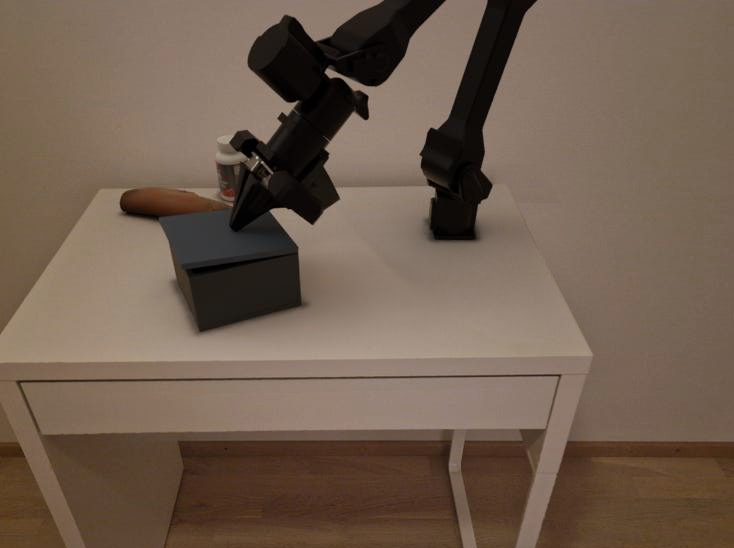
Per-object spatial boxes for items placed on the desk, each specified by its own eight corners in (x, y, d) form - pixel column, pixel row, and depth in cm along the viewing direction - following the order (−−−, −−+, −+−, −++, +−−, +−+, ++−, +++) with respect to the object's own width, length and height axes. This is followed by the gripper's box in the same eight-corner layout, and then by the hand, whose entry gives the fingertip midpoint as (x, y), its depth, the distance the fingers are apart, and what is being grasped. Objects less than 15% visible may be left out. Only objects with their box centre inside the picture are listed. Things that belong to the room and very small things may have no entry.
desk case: (199, 332, 73) (188, 278, 68) (177, 281, 82) (166, 231, 77) (301, 305, 77) (298, 253, 72) (269, 260, 86) (265, 210, 81)
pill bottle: (214, 196, 103) (205, 139, 96) (237, 186, 106) (230, 130, 100) (235, 205, 100) (227, 147, 94) (258, 194, 103) (252, 137, 97)
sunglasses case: (241, 207, 98) (227, 182, 92) (226, 243, 96) (210, 220, 90) (150, 191, 103) (130, 167, 97) (134, 226, 101) (112, 203, 95)
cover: (181, 270, 67) (181, 264, 67) (159, 223, 76) (158, 217, 75) (298, 252, 72) (298, 246, 72) (265, 210, 81) (264, 204, 81)
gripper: (388, 193, 69) (304, 294, 73) (325, 140, 82) (256, 229, 86) (325, 135, 61) (235, 251, 65) (266, 87, 74) (194, 186, 78)
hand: (232, 229), depth 74 cm, fingers closed
